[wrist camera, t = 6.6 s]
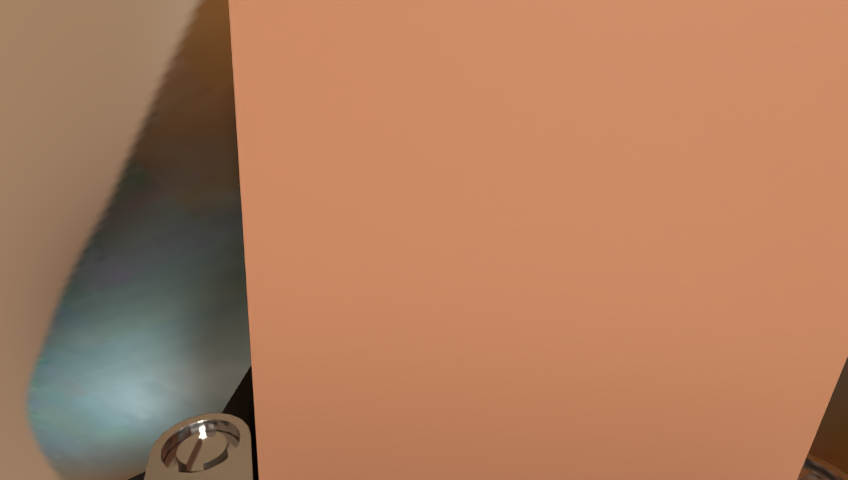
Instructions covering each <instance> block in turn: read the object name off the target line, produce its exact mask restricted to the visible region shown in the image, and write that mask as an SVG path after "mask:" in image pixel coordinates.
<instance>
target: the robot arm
mask: <svg viewBox="0 0 848 480" xmlns="http://www.w3.org/2000/svg"><path fill="white" fill-rule="evenodd" d="M128 480H259V474H258V459H257V443H256V427H255V411H254V395H253V379H252V365H251V367H250V368H249V370H248V372H247V373H246V375H245V376H244V378H243V380H242V381H241V383H240V385H239V386H238V388H237V389H236V391H235V393H234V394H233V396H232V397H231V399H230V401H229V402H228V404H227V406H226V407H225V409H224V410H223V412H222V413H212V414H203V415H199V416H195V417H192V418H189V419H186V420H184V421H182V422H180V423H178V424H176V425H174V426H173V427H171V428H170V429H169V430H167V431H166V432H164V433H163V434H162V435H161V436H160V437H159V439H158V440H157V441H156V442H155V443H154V445H153V447H152V449H151V452H150V454H149V458H148V463H147V468H146V472H144V473H141V474H139V475H137V476H135V477H133V478H131V479H128ZM797 480H848V476H847V475H846V474H845V473H843V472H842V471H840V470H838V469H837V468H835V467H834V466H832V465H831V464H829V463H827V462H825V461H823V460H821V459H819V458H817V457H815V456H813V455H810V454H807V457H806V459H805V461H804V464H803V466H802V469H801V471H800V474H799V476H798V479H797Z"/></svg>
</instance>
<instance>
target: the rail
mask: <svg viewBox="0 0 848 480" xmlns="http://www.w3.org/2000/svg"><path fill="white" fill-rule="evenodd" d="M229 13H230V29H231V45H232V61H233V77H234V93H235V109H236V125H237V141H238V156H239V172H240V188H241V204H242V220H243V236H244V252H245V268H246V284H247V300H248V315H249V331H250V347H251V363H252V379H253V395H254V411H255V427H256V443H257V459H258V474H259V480H797V479H798V476H799V474H800V471H801V469H802V466H803V464H804V461H805V459H806V457H807V454H808V452H809V449H810V447H811V444H812V442H813V439H814V437H815V435H816V432H817V430H818V427H819V425H820V422H821V420H822V417H823V415H824V413H825V410H826V408H827V405H828V403H829V400H830V398H831V395H832V393H833V391H834V388H835V386H836V383H837V381H838V378H839V376H840V373H841V371H842V369H843V366H844V364H845V361H846V359H847V356H848V0H229Z"/></svg>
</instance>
